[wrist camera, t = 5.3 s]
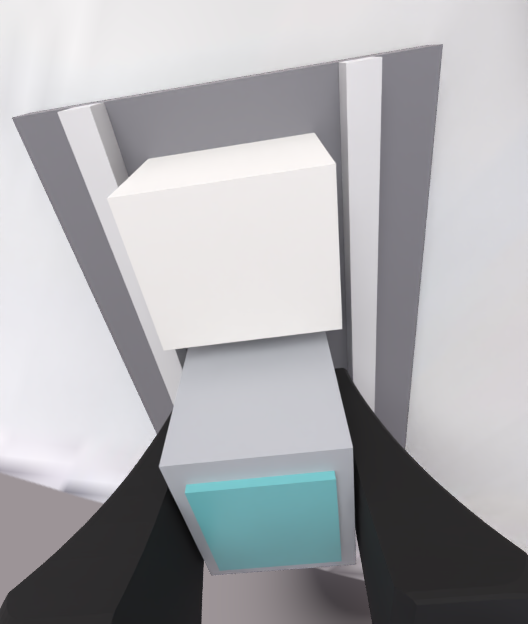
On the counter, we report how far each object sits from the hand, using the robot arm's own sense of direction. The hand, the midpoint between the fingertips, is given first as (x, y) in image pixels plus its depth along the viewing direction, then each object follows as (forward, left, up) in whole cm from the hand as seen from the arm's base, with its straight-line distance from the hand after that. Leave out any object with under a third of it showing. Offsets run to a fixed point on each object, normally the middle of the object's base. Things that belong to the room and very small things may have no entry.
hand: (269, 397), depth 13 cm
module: (0, 0, -2) cm, 2 cm away
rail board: (0, 0, -3) cm, 3 cm away
